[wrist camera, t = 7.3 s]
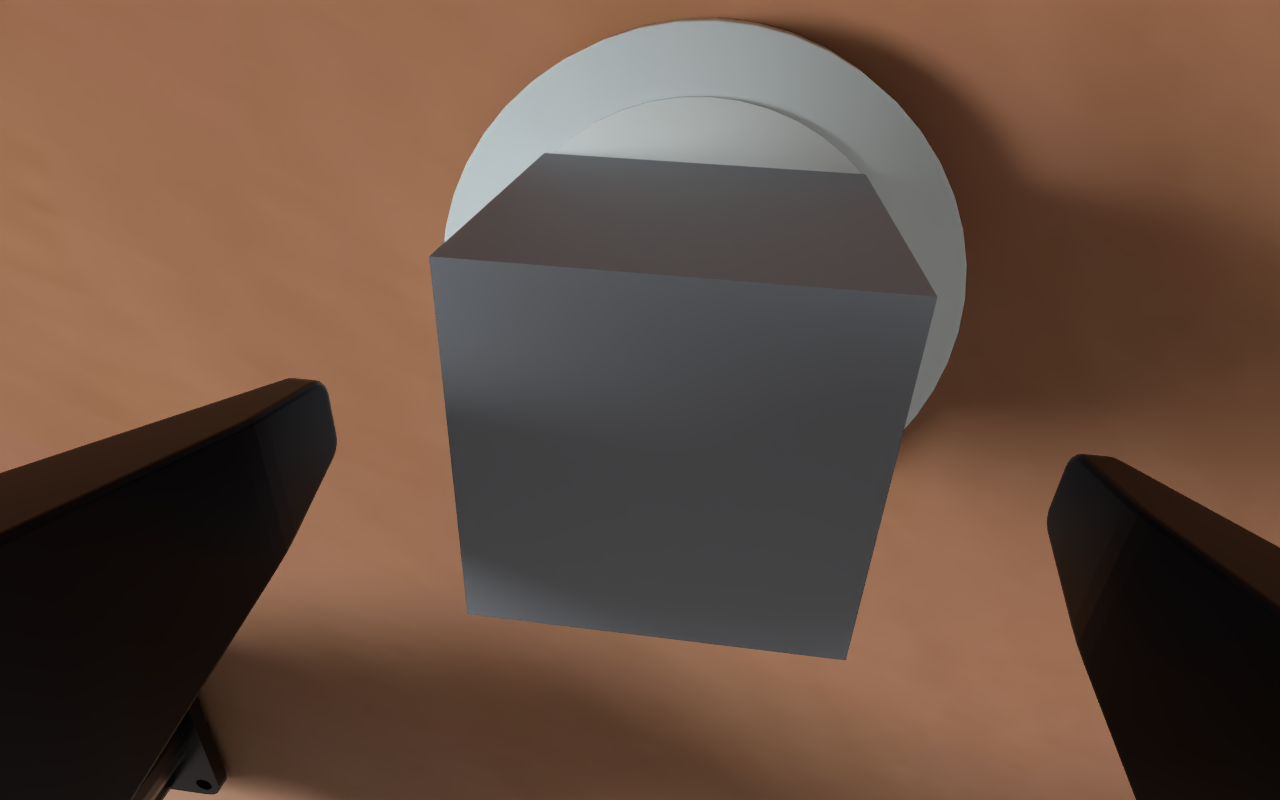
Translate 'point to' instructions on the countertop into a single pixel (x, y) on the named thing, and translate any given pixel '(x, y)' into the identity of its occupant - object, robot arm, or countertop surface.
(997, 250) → the countertop surface
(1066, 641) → the countertop surface
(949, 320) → the dish
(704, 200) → the block
